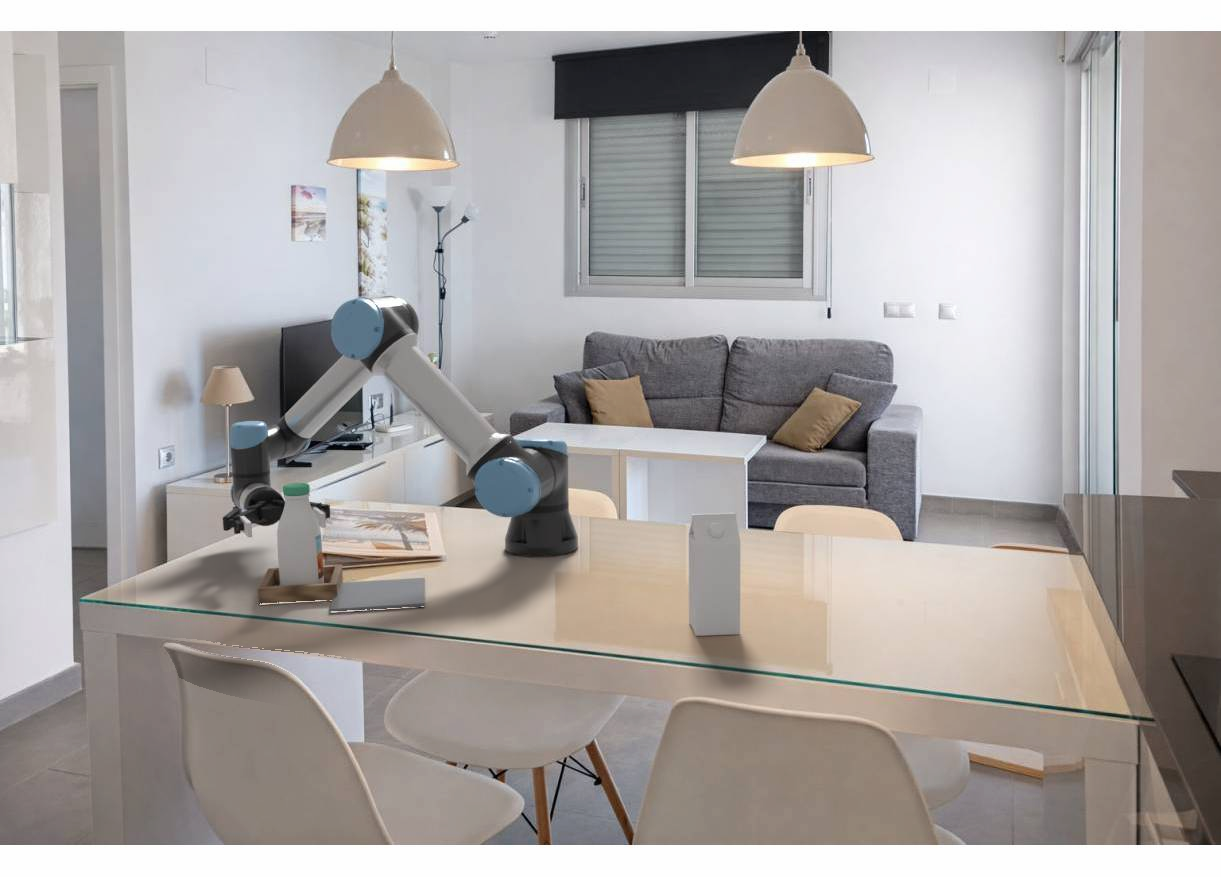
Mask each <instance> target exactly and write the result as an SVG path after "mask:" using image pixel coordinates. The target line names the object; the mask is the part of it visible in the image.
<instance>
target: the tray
mask: <svg viewBox="0 0 1221 877" xmlns="http://www.w3.org/2000/svg"><path fill="white" fill-rule="evenodd" d="M343 573H344V572H343V564H342V563H341V564H326V565H325V564H323V574H324V583H320V584H303V585H286V586H280V578H279V567H274V568H273V567H271V568H267V571H266V573H265V574H264V576H263V578H262V580H261V583H260V585H259V586H258V588H257V592H258V593H257V595H258V605H259V604H260V603H261V604H262V603H277V602H278V603H279V602H296V601H315V600H332V599H333V597H336V596H337V595H338V592H339V588H340V584H341V583H343V582H344V577H343Z"/></svg>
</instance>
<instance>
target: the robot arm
mask: <svg viewBox="0 0 1221 877" xmlns="http://www.w3.org/2000/svg"><path fill="white" fill-rule="evenodd" d="M418 317H419V316H418V314H417V311H416V310H415V309H414V307H413V306H412V304H410V303H409V302H408V301H406V300H405V299H403V298H401V297H398V296H394V295H384V296H371V297H368V296H359V297H356V298H353V299H350V300H347V301H345V302H343V304H341V305H340V306H339V307H338V308H337V310H336V311H335V312H334V315H333V317H332V319H331V323H330V324H331V325H330V326H331V329H330V330H331V332H330V336H331V340H332V342H333V345H334V347H335V348H336V350H337V351H338V352H339V353H340V354H341V355H342V356H341V357H340V358H339V359H338V360H337V361H335V363H334V364H333V365H332V366H331V367H330V368H329V369H327V371H326V372H325V373H324V374H323V375H322V376H321V377H320V378H319V379H318V380H317V381H316V382H315V383H314V384H313V385H312V386H311V387H310V388H309V389H308V390H307V391H306V392H305V393H304V394H303V395H302V396H301V397H300V398H299V399H298V400H297V401H296V402H295V403H294V405H292V407H291V408H289V410H288V411H287V412H286V413H285V414H284V415H283V416H282V417H281V418H280V419H279V420H277V422H276V423H274V424H273V425H269V426H267V423H266V422H265V421H261V420H248V421H247V420H245V421H238V422H234V423H233V424H231V426H230V428H229V436H230V437H229V438H230V439H229V447H230V457H231V470H232V485H231V488H230V498H231V502H233V504H234V506H233V507H232V510H230V511H228V512H227V513H226V514H225V515H223V516H222V528H223V529H222V530H223V531H225V532H226V531H227V532H228V531H230V530H232V529H233V533H234V534H235V535H238V534H241V532H242V533H243V534H244V535H245V537H247V538H253V527H252V525H253V524H256V525H257V526H261V527H269V526H273V525H275V524H277V523H279V521H280V518H281V515H282V513H283V510H284V506H285V498H284V496H282V495H281V493H279V492H278V491H276V490H275V489H274V488H273V487H271V484H272V483H271V470H270V469H271V466H270V463H271V462H275V461H279V460H281V459H286V458H289V457H295V456H297V455H299V454H300V453H302V452H304V451H306V450H308V448H309V446H310V444H311V440H312V437H313V436H314V435H315V434H317V432H318V431H320V429H321V428H322V427H323V426H324V425H325V424H326V423H327V422H329V420H331V418H333V416H335V414H336V413H337V412H338V411H340V409H342V407H344V405H346V403H347V402H349V401H350V400H351V399H352V398H353V397H354V396H355V395H356V394H357V393H358V392H359V391H360V390H361V389H362V388H363V387H364V386H365V385H366V384H367V383H368V382H369V381H370V380H371V379H372V378H373V377H374V376H381V377H386V379H387V380H388V381H389V382H390V383H391V384H392V385H393V386H394V388H395V389H396V390H397V391H398V392H399V393H400V394H401V395H402V396H403V397H404V398H405V399H406V400H407V402H409V403H410V404H411V406H412V407H413V408H414V409H415V410H416V411H417V412H418V413H419V414H420V415H421V417H422V418H423V419H424V420H426V422H427V424H429V425H430V427H431V428H433V430H434V431H435V432H436V433H437V434H438V435H439V436H440V437H441V438H442V439H443V441H445V443H447V444H448V446H450V448H451V449H452V450H453V452H455V453H456V454H457V456H459V458H460V459H461V460H463V462H464V463H465V465H466V470H465V471H466V472H465V475H466V476H467V478H468V479H469V480H470V481H471V482H472V483H473V486H474V493H475V497H476V499H477V501H478V502H479V504H480V505H481V506H482V508H484V509H485V510H486V511H487V512H489V513H491V515H495V516H497V517H501V518H510V519H509V520H510V521H509V523H508V527H507V531H506V534H505V538H504V549H505V551H506V552H508V553H509V554H513V555H516V556H521V557H522V556H523V557H531V558H532V557H533V558H534V557H537V558H539V557H541V558H542V557H552V556H560V555H561V556H562V555H566V554H569V553H572V552H575V551H576V550H577V549H578V547H579V541H578V540H579V538H578V533H577V530H576V527H575V524H574V522H573V519H572V516H571V513H570V509H569V506H570V505H569V502H570V501H569V452H568V444H567V443H566V441H564V440H563V439H559V438H558V439H557V438H556V439H555V438H531V437H529V438H525V437H524V438H522V437H521V438H514V437H513V436H512V435H511V434H510V433H508V434H506V433H500V432H498V431H497V430H496V429H495V428H494V427H493V426H492V425H491V424H490V423H489V422H488V421H487V420H486V418H484V416H483V415H482V414H481V413H480V412H479V411H478V410H477V409H476V408H475V407H474V406H473V405H472V404H471V403H470V401H469V400H468V399H467V398H466V397H465V396H464V395H463V394H462V392H460V390H459V389H458V388H456V386H455V385H454V384H453V383H452V382H451V381H450V380H449V379H448V378H447V377H446V376H445V375H444V373H442V372H441V371H440V369H439V368H438V367H437V366H436V365H435V364H434V363H433V362H432V361H431V360H430V358H428V357H427V356H426V355H425V353H424V352H423V351H422V350H421V349H420V348H419V346H418V338H419V337H418V334H419V330H420V321H419V318H418ZM309 502H310V505H311V508H312V510H313V512H314V514H315V515H316V517H317V520H318V522H319V525H320V529H324V528H327V525H326V524H327V522H326V521H327V519H331V505H330V504H325V503H322V502H313V501H309Z"/></svg>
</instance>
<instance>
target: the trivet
mask: <svg viewBox="0 0 1221 877" xmlns="http://www.w3.org/2000/svg"><path fill="white" fill-rule="evenodd" d="M425 578H426V577H416V578H415V577H413V578H412V577H411V578H398V579H397V578H395V579H381V580H380V579H379V580H363V581H348V582H347V581H346V582H345V581H342V583H341V584H340V588H339V592H338V595H337V596H336V597H333V599H332V601H331V603H330V608H329V612H330V611H347V610H365V609H367V610H370V609H372V610H373V609H387V608H402V607H421V606H425V607H426V579H425Z"/></svg>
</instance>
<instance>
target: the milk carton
mask: <svg viewBox="0 0 1221 877" xmlns="http://www.w3.org/2000/svg"><path fill="white" fill-rule="evenodd" d="M739 532H740V531H739V527H738V521H737V513H736V512H723V513H718V512H717V513H694V514H691V523H690V527H689V530H688V622H689V624H690V626H691V629H692V631H693V632H694V635H695V637H705V636H706V637H707V636H728V635H740V634H741V537H740V533H739Z"/></svg>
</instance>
